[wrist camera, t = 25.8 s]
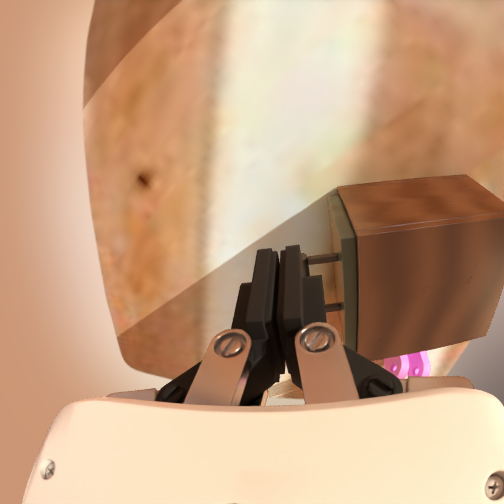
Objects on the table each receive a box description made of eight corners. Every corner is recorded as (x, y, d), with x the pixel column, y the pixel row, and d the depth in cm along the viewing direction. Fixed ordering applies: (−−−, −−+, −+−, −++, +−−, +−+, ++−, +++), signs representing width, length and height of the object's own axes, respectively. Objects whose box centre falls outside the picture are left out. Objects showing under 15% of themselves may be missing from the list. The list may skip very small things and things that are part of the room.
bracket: (407, 353, 42) (418, 388, 36) (380, 348, 42) (388, 385, 36) (455, 292, 35) (474, 326, 29) (427, 282, 35) (446, 319, 29)
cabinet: (345, 297, 37) (357, 363, 28) (336, 186, 30) (357, 236, 21) (453, 279, 34) (486, 335, 25) (466, 174, 27) (520, 215, 18)
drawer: (302, 303, 37) (303, 359, 30) (285, 202, 31) (284, 246, 23) (442, 282, 33) (468, 330, 26) (453, 183, 27) (496, 219, 19)
